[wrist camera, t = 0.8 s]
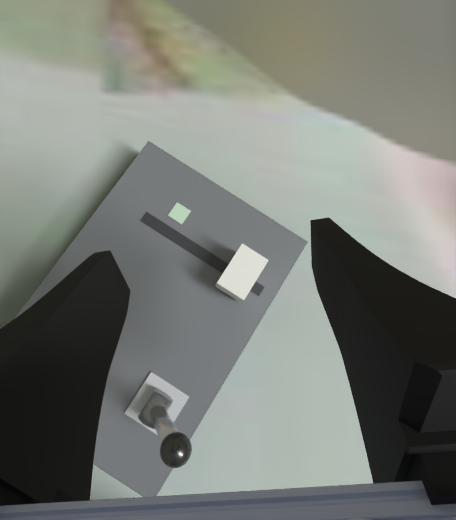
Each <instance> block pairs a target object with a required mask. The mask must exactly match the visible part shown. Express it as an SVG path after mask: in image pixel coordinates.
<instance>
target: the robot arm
mask: <svg viewBox="0 0 456 520" xmlns="http://www.w3.org/2000/svg"><path fill="white" fill-rule="evenodd" d="M311 253H312V269H313V273H314V278H315V282H316V286H317V290H318V293H319V295H320V298H321V301H322V303H323V306H324V309H325V311H326V314H327V316H328V319H329V322H330V324H331V327H332V329H333V332H334V335H335V337H336V340H337V342H338V345H339V348H340V351H341V354H342V357H343V361H344V365H345V369H346V372H347V376H348V380H349V383H350V387H351V391H352V395H353V399H354V403H355V407H356V411H357V415H358V419H359V423H360V427H361V431H362V436H363V440H364V444H365V448H366V452H367V457H368V461H369V466H370V470H371V474H372V479H373V484H356V485H340V486H323V487H306V488H290V489H273V490H256V491H240V492H223V493H206V494H190V495H173V496H156V497H139V498H123V499H106V500H90V490H91V480H92V469H93V460H94V453H95V445H96V438H97V431H98V425H99V419H100V413H101V407H102V402H103V397H104V392H105V387H106V382H107V378H108V374H109V370H110V367H111V364H112V360H113V357H114V354H115V351H116V348H117V345H118V342H119V339H120V335H121V332H122V329H123V326H124V323H125V319H126V316H127V311H128V305H129V298H130V289H129V287H128V285H127V283H126V281H125V279H124V277H123V275H122V273H121V271H120V269H119V267H118V265H117V263H116V261H115V259H114V257H113V255H112V253H111V251H110V250H109V251H102V252H95V253H93V254H92V255H91V256H89V257H88V258H87V259H86V260H84V261H83V262H82V263H81V264H80V265H78V266H77V267H76V268H75V269H74V270H73V271H72V272H71V273H69V274H68V275H67V276H66V277H65V278H64V279H63V280H62V281H60V282H59V283H58V284H57V285H56V286H55V287H54V288H52V289H51V290H50V291H49V292H48V293H47V294H45V295H44V296H43V297H42V298H40V299H39V300H38V301H37V302H36V303H34V304H33V305H32V306H31V307H30V308H28V309H27V310H26V311H25V312H23V313H22V314H21V315H19V316H18V317H17V318H15V319H14V320H13V321H11V322H10V323H8V324H7V325H5V326H4V327H3V328H1V329H0V520H456V298H453V297H451V296H449V295H447V294H445V293H442V292H440V291H438V290H436V289H434V288H431V287H429V286H427V285H425V284H423V283H421V282H419V281H417V280H416V279H414V278H412V277H410V276H408V275H407V274H405V273H403V272H401V271H399V270H398V269H396V268H394V267H393V266H391V265H389V264H388V263H386V262H385V261H383V260H382V259H380V258H379V257H377V256H376V255H375V254H373V253H372V252H370V251H369V250H368V249H366V248H365V247H364V246H363V245H361V244H360V243H359V242H357V241H356V240H355V239H354V238H352V237H351V236H350V235H349V234H348V233H346V232H345V231H344V230H343V229H342V228H341V227H339V226H338V225H337V224H336V223H335V222H334V221H332V220H331V219H330V218H323V219H317V220H311Z"/></svg>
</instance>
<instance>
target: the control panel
mask: <svg viewBox="0 0 456 520" xmlns="http://www.w3.org/2000/svg"><path fill="white" fill-rule="evenodd" d="M242 243H243V244H244V245H246V246H247V247H249V248H250V249H252V250H254V251H255V252H257V253H258V254H260V255H261V256H263V257H265V258H266V259H268V260H269V261H268V262H267V264H266V265H265V267H264V269H263V270H262V272H261V274H260V275H259V277H258V279H257V280H256V282H255V283H254V285H253V287H252V288H251V290H250V292H249V293H248V295H247V296H246V298H245V300H244V301H241V302H239V301H237V300H235V299H234V298H232V297H231V296H229V295H228V294H226V293H225V292H223V291H221V290H220V289H218V288H217V287H215V285H216V283H217V282H218V280H219V279H220V277H221V276H222V274H223V272H224V271H225V269H226V268H227V266H228V265H229V263H230V261H231V260H232V258H233V257H234V255H235V254H236V252H237V251H238V249H239V247H240V246H241V244H242ZM306 244H307V241H306V240H304V239H302V238H301V237H299V236H298V235H296V234H295V233H293V232H291V231H290V230H288V229H287V228H285V227H284V226H282V225H280V224H279V223H277V222H276V221H274V220H272V219H271V218H269V217H268V216H266V215H265V214H263V213H261V212H260V211H258V210H257V209H255V208H254V207H252V206H250V205H249V204H247V203H246V202H244V201H243V200H241V199H239V198H238V197H236V196H235V195H233V194H231V193H230V192H228V191H227V190H225V189H224V188H222V187H220V186H219V185H217V184H216V183H214V182H213V181H211V180H209V179H208V178H206V177H205V176H203V175H202V174H200V173H198V172H197V171H195V170H194V169H192V168H190V167H189V166H187V165H186V164H184V163H183V162H181V161H179V160H178V159H176V158H175V157H173V156H172V155H170V154H168V153H167V152H165V151H164V150H162V149H161V148H159V147H157V146H156V145H154V144H153V143H151V142H149V141H148V142H147V144H146V145H145V146H144V148H143V149H142V150H141V152H140V153H139V154H138V155H137V157H136V158H135V159H134V161H133V162H132V163H131V165H130V166H129V167H128V169H127V170H126V171H125V173H124V174H123V175H122V177H121V178H120V179H119V181H118V182H117V183H116V185H115V186H114V187H113V189H112V190H111V191H110V192H109V194H108V195H107V196H106V198H105V199H104V200H103V202H102V203H101V204H100V206H99V207H98V208H97V210H96V211H95V212H94V214H93V215H92V216H91V218H90V219H89V220H88V222H87V223H86V224H85V226H84V227H83V228H82V229H81V231H80V232H79V233H78V235H77V236H76V237H75V239H74V240H73V241H72V243H71V244H70V245H69V247H68V248H67V249H66V251H65V252H64V253H63V255H62V256H61V257H60V259H59V260H58V261H57V263H56V264H55V265H54V266H53V268H52V269H51V270H50V272H49V273H48V274H47V276H46V277H45V278H44V280H43V281H42V282H41V284H40V285H39V286H38V288H37V289H36V290H35V292H34V293H33V294H32V296H31V297H30V298H29V299H28V301H27V302H26V303H25V305H24V306H23V307H22V309H21V310H20V311H19V313H18V314H17V315H16V317H15V318H17V317H18V316H19V315H21V314H22V313H23V312H25V311H26V310H27V309H28V308H30V307H31V306H32V305H33V304H34V303H36V302H37V301H38V300H39V299H40V298H42V297H43V296H44V295H45V294H47V293H48V292H49V291H50V290H51V289H52V288H54V287H55V286H56V285H57V284H58V283H59V282H60V281H62V280H63V279H64V278H65V277H66V276H67V275H68V274H69V273H71V272H72V271H73V270H74V269H75V268H76V267H77V266H78V265H80V264H81V263H82V262H83V261H84V260H86V259H87V258H88V257H89V256H91V255H92V254H93V253H95V252H102V251H109V250H110V251H111V253H112V255H113V257H114V259H115V261H116V263H117V265H118V267H119V269H120V271H121V273H122V275H123V277H124V279H125V281H126V283H127V285H128V287H129V289H130V298H129V305H128V311H127V316H126V319H125V323H124V326H123V329H122V332H121V335H120V339H119V342H118V345H117V348H116V351H115V354H114V357H113V360H112V364H111V367H110V370H109V374H108V378H107V382H106V387H105V392H104V397H103V402H102V407H101V413H100V419H99V425H98V431H97V438H96V445H95V453H94V460H93V464H94V465H95V466H97V467H98V468H100V469H101V470H103V471H105V472H106V473H108V474H109V475H111V476H112V477H114V478H115V479H117V480H118V481H120V482H121V483H123V484H124V485H126V486H127V487H129V488H131V489H132V490H134V491H135V492H137V493H138V494H140V495H141V496H143V497H156V496H157V494H158V492H159V491H160V489H161V487H162V486H163V484H164V482H165V481H166V479H167V477H168V476H169V474H170V472H171V471H172V469H173V468H171V467H168V466H167V465H165V464H164V463H163V461H162V459H161V457H160V446H161V441H160V439H159V436H158V434H157V432H156V429H152V428H149V427H147V426H146V425H144V424H143V423H142V422H141V421H140V420H139V419H138V415H139V413H140V412H141V410H142V408H143V407H144V405H145V404H146V402H147V401H148V399H149V397H150V396H151V394H152V393H153V391H154V390H155V389H158V390H161V391H163V392H164V393H166V394H167V395H169V396H170V397H171V398H172V399H173V403H172V404H171V406H170V408H169V409H168V411H167V412H168V414H169V416H170V418H171V420H172V421H173V423H174V425H175V427H176V429H177V431H178V432H182V433H184V434H185V435H186V436H187V437H188V438H189V440H190V439H191V437H192V435H193V434H194V432H195V430H196V429H197V427H198V425H199V424H200V422H201V420H202V419H203V417H204V415H205V414H206V412H207V410H208V408H209V407H210V405H211V403H212V402H213V400H214V398H215V397H216V395H217V393H218V392H219V390H220V388H221V387H222V385H223V383H224V382H225V380H226V378H227V377H228V375H229V373H230V372H231V370H232V368H233V366H234V365H235V363H236V361H237V360H238V358H239V356H240V355H241V353H242V351H243V350H244V348H245V346H246V345H247V343H248V341H249V340H250V338H251V336H252V335H253V333H254V331H255V330H256V328H257V326H258V324H259V323H260V321H261V319H262V318H263V316H264V314H265V313H266V311H267V309H268V308H269V306H270V304H271V303H272V301H273V299H274V298H275V296H276V294H277V293H278V291H279V289H280V288H281V286H282V284H283V282H284V281H285V279H286V277H287V276H288V274H289V272H290V271H291V269H292V267H293V266H294V264H295V262H296V261H297V259H298V257H299V256H300V254H301V252H302V251H303V249H304V247H305V246H306ZM15 318H14V319H15ZM14 319H13V320H14Z"/></svg>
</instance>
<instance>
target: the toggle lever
mask: <svg viewBox="0 0 456 520" xmlns="http://www.w3.org/2000/svg"><path fill="white" fill-rule="evenodd" d="M172 403H173V399H172V398H171V397H170V396H169V395H167V394H166V393H164V392H163V391H161V390H158V389H155V390H154V391H153V393H152V394H151V396H150V397H149V399H148V401H147V402H146V404H145V405H144V407H143V408H142V410H141V412H140V413H139V415H138V419H139V420H140V421H141V422H142V423H143V424H144V425H146V426H147V427H149V428H152V429H156V432H157V434H158V436H159V439H160V441H161V446H160V457H161V459H162V461H163V463H164V464H165V465H167V466H168V467H171V468H178V467H181V466H183V465H184V464H185V463H186V462H187V461H188V459H189V458H190V455H191V451H192V446H191V442H190V440H189V438H188V437H187V436H186V435H185V434H184V433H182V432H178V431H177V429H176V427H175V425H174V423H173V421H172V420H171V418H170V416H169V414H168V412H167V411H168V409H169V408H170V406H171V404H172Z"/></svg>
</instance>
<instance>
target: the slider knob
mask: <svg viewBox="0 0 456 520" xmlns="http://www.w3.org/2000/svg"><path fill="white" fill-rule="evenodd" d="M268 261H269V260H268V259H266V258H265V257H263V256H261V255H260V254H258V253H257V252H255V251H254V250H252V249H250V248H249V247H247V246H246V245H244V244H243V243H242V244H241V246H240V247H239V249H238V251H237V252H236V254H235V255H234V257H233V258H232V260H231V261H230V263H229V265H228V266H227V268H226V269H225V271H224V272H223V274H222V276H221V277H220V279H219V280H218V282H217V283H216V285H215V287H217V288H218V289H220V290H221V291H223V292H225V293H226V294H228V295H229V296H231V297H232V298H234V299H235V300H237V301H239V302H241V301H244V300H245V298H246V296H247V295H248V293H249V292H250V290H251V288H252V287H253V285H254V283H255V282H256V280H257V279H258V277H259V275H260V274H261V272H262V270H263V269H264V267H265V265H266V264H267V262H268Z"/></svg>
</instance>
